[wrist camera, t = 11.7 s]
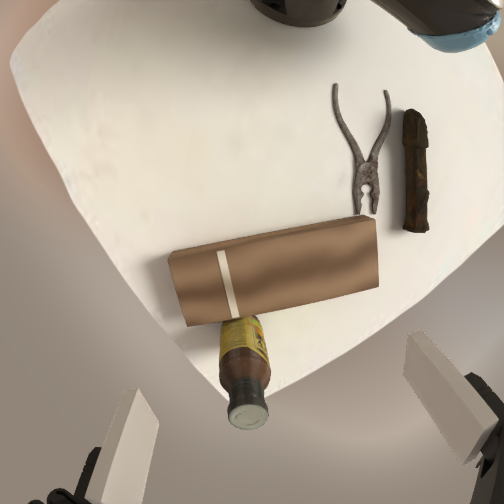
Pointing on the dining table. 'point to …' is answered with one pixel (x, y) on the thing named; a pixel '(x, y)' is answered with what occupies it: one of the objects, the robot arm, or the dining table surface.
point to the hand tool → (415, 171)
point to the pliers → (364, 169)
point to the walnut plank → (275, 270)
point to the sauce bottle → (244, 371)
